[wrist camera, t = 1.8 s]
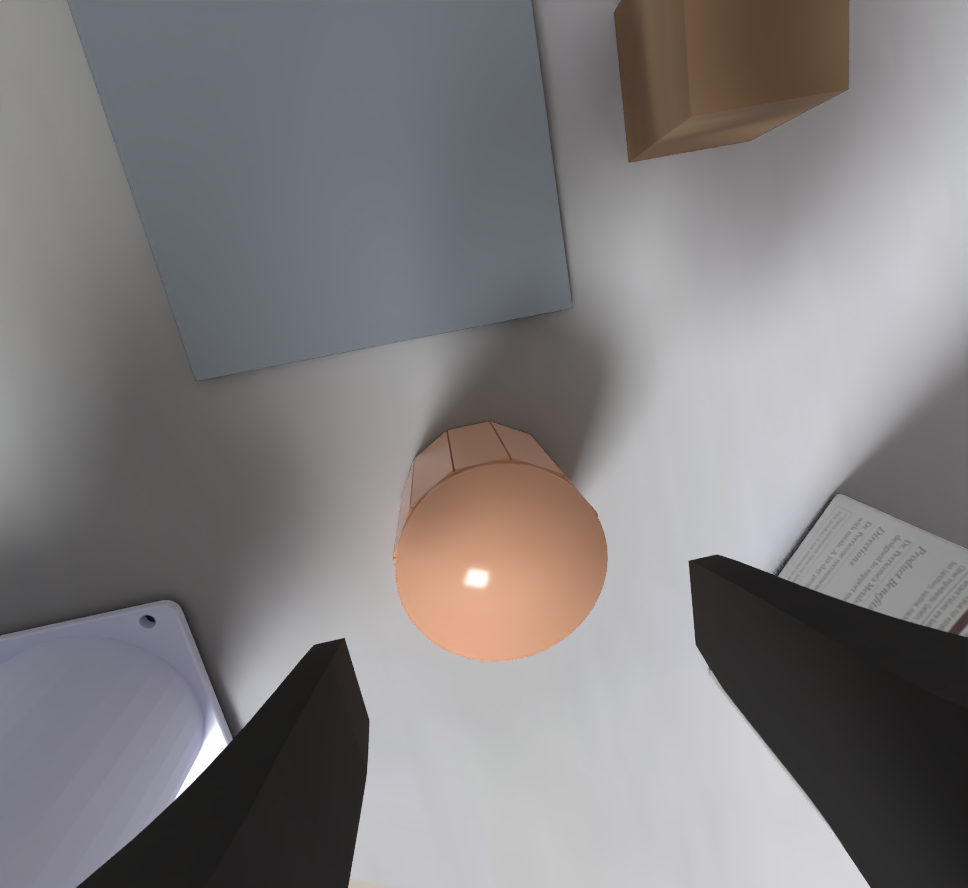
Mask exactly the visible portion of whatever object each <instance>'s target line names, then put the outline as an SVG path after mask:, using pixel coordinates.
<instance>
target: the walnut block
mask: <svg viewBox="0 0 968 888" xmlns="http://www.w3.org/2000/svg"><path fill="white" fill-rule="evenodd" d="M614 18H615V28H616V38H617V48H618V59H619V69H620V79H621V89H622V100H623V110H624V120H625V130H626V141H627V151H628V161H629V162H635V161H641V160H646V159H652V158H657V157H663V156H668V155H674V154H680V153H685V152H691V151H696V150H702V149H708V148H713V147H719V146H724V145H730V144H735V143H741V142H747V141H751V140H753V139H755V138H757V137H758V136H760V135H762V134H764V133H766V132H768V131H770V130H772V129H774V128H776V127H777V126H779V125H781V124H783V123H785V122H787V121H789V120H791V119H793V118H794V117H796V116H798V115H800V114H802V113H804V112H806V111H808V110H810V109H812V108H813V107H815V106H817V105H819V104H821V103H823V102H825V101H827V100H829V99H831V98H832V97H834V96H836V95H838V94H840V93H842V92H844V91H846V90H848V78H849V0H622V1H621V2H620V4H619V5H618V7H617V9H616V10H615V12H614Z"/></svg>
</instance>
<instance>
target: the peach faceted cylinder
mask: <svg viewBox="0 0 968 888" xmlns="http://www.w3.org/2000/svg"><path fill="white" fill-rule="evenodd" d="M607 560H608V557H607V544H606V539H605V535H604V531H603V529H602V526H601V523H600V521H599V519H598V514H597V513H596V511H595V510H594V509H593V507H592V506H591V505H590V504H589V503H588V501H587V500H586V499H585V498H584V497H583V496H582V494H581V493H580V492H579V491H578V490H577V488H576V487H575V486H574V485H573V484H572V483H571V481H570V480H569V479H568V478H567V477H566V475H565V474H564V473H563V472H562V471H561V469H560V468H559V467H558V466H557V465H556V464H555V462H554V461H553V460H552V459H551V458H550V457H549V455H548V454H547V453H546V452H545V451H544V450H543V448H542V447H541V446H540V445H539V444H538V443H537V442H536V440H535V439H534V438H533V437H532V436H531V435H530V434H528V433H525V432H522V431H518V430H515V429H512V428H509V427H506V426H503V425H500V424H497V423H494V422H489V421H488V422H484V423H479V424H474V425H469V426H464V427H459V428H454V429H450V430H448V432H447V431H445V432H444V433H443V434H442V435H441V436H440V437H438V438H437V439H436V440H435V441H434V442H433V443H431V444H430V445H429V446H428V447H427V448H426V449H425V450H423V451H422V452H421V453H420V454H419V455H418V456H417V457H415V460H413V463H412V466H411V470H410V473H409V476H408V479H407V482H406V485H405V488H404V491H403V494H402V497H401V503H400V510H399V517H398V525H397V532H396V539H395V546H394V553H393V561H394V565H395V572H396V584H397V589H398V594H399V597H400V600H401V603H402V605H403V607H404V609H405V611H406V613H407V615H408V616H409V618H410V619H411V621H412V622H413V624H414V625H415V626H416V627H417V628H418V629H419V630H420V632H421V633H422V634H423V635H424V636H426V637H427V638H428V639H429V640H431V641H432V642H433V643H435V644H436V645H438V646H440V647H441V648H443V649H445V650H447V651H449V652H451V653H454V654H456V655H459V656H462V657H466V658H469V659H475V660H480V661H509V660H515V659H520V658H524V657H527V656H531V655H534V654H537V653H539V652H541V651H544V650H546V649H548V648H550V647H551V646H553V645H555V644H557V643H558V642H560V641H561V640H563V639H564V638H565V637H567V636H568V635H569V634H570V633H572V632H573V631H574V630H575V629H576V628H577V627H578V626H579V625H580V624H581V623H582V622H583V620H584V619H585V618H586V617H587V616H588V614H589V613H590V611H591V610H592V608H593V607H594V605H595V603H596V601H597V599H598V597H599V595H600V593H601V590H602V587H603V584H604V580H605V576H606V571H607Z"/></svg>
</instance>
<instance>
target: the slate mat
mask: <svg viewBox="0 0 968 888" xmlns="http://www.w3.org/2000/svg"><path fill="white" fill-rule="evenodd" d="M67 2H68V5H69V8H70V11H71V14H72V17H73V20H74V22H75V25H76V28H77V31H78V34H79V37H80V40H81V43H82V46H83V49H84V52H85V55H86V58H87V61H88V64H89V67H90V70H91V73H92V76H93V79H94V82H95V85H96V88H97V91H98V93H99V96H100V99H101V102H102V105H103V108H104V111H105V114H106V117H107V120H108V123H109V126H110V129H111V132H112V135H113V138H114V141H115V144H116V147H117V150H118V153H119V156H120V159H121V162H122V164H123V167H124V170H125V173H126V176H127V179H128V182H129V185H130V188H131V191H132V194H133V197H134V200H135V203H136V206H137V209H138V212H139V215H140V218H141V221H142V224H143V227H144V230H145V233H146V235H147V238H148V241H149V244H150V247H151V250H152V253H153V256H154V259H155V262H156V265H157V268H158V271H159V274H160V277H161V280H162V283H163V286H164V289H165V292H166V295H167V298H168V301H169V304H170V307H171V309H172V312H173V315H174V318H175V321H176V324H177V327H178V330H179V333H180V336H181V339H182V342H183V345H184V348H185V351H186V354H187V357H188V360H189V363H190V366H191V369H192V372H193V375H194V378H195V380H196V381H200V380H205V379H210V378H215V377H220V376H226V375H231V374H236V373H241V372H246V371H251V370H256V369H262V368H267V367H272V366H277V365H282V364H287V363H292V362H298V361H303V360H308V359H313V358H318V357H323V356H328V355H334V354H339V353H344V352H349V351H354V350H359V349H364V348H370V347H375V346H380V345H385V344H390V343H395V342H400V341H406V340H411V339H416V338H421V337H426V336H431V335H436V334H442V333H447V332H452V331H457V330H462V329H467V328H472V327H478V326H483V325H488V324H493V323H498V322H503V321H508V320H514V319H519V318H524V317H529V316H534V315H539V314H544V313H550V312H555V311H560V310H565V309H570V308H572V301H571V294H570V286H569V279H568V271H567V264H566V256H565V249H564V241H563V234H562V226H561V219H560V211H559V204H558V196H557V189H556V181H555V174H554V166H553V159H552V151H551V144H550V136H549V129H548V121H547V114H546V106H545V99H544V91H543V84H542V76H541V69H540V61H539V54H538V46H537V39H536V31H535V24H534V16H533V9H532V1H531V0H67Z"/></svg>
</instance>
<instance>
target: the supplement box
mask: <svg viewBox="0 0 968 888" xmlns="http://www.w3.org/2000/svg"><path fill="white" fill-rule="evenodd" d="M778 577H780V578H783V579H786V580H788V581H791V582H794V583H796V584H799V585H801V586H804V587H807V588H809V589H812V590H815V591H818V592H820V593H823V594H826V595H829V596H831V597H834V598H837V599H840V600H843V601H846V602H849V603H852V604H855V605H858V606H861V607H864V608H867V609H870V610H873V611H876V612H879V613H882V614H885V615H888V616H892V617H895V618H898V619H902V620H905V621H909V622H912V623H915V624H919V625H923V626H927V627H931V628H934V629H938V630H942V631H946V632H949V633H953V634H957V635H961V636H964V637H968V549H967V548H964V547H962V546H960V545H957V544H955V543H953V542H950V541H948V540H946V539H943V538H941V537H939V536H936V535H934V534H932V533H930V532H927V531H925V530H923V529H920V528H918V527H916V526H913V525H911V524H909V523H907V522H904V521H902V520H900V519H897V518H895V517H893V516H891V515H889V514H886V513H884V512H882V511H879V510H877V509H875V508H872V507H870V506H868V505H865V504H863V503H861V502H859V501H856V500H854V499H852V498H850V497H848V496H845V495H842V494H837V495H836V496H835V497H834V499H833V500H832V501H831V503H830V504H829V506H828V507H827V508H826V510H825V511H824V513H823V514H822V515H821V517H820V518H819V520H818V521H817V522H816V524H815V525H814V527H813V528H812V529H811V531H810V532H809V534H808V535H807V536H806V538H805V539H804V540H803V542H802V543H801V545H800V546H799V547H798V549H797V550H796V552H795V553H794V554H793V556H792V557H791V559H790V560H789V561H788V563H787V564H786V566H785V567H784V568H783V570H782V571H781V573H780V574H779V575H778ZM709 677H710V678H711V679H712V681H713V682H714V683H715V685H716V686H717V687H718V688H719V690H720V691H721V692H722V694H723V695H724V696H725V697H726V699H727V700H728V701H729V702H730V704H731V705H732V706H733V708H734V709H735V710H736V711H737V713H738V714H739V715H740V716H741V718H742V719H743V720H744V721H745V723H746V724H747V725H748V727H749V728H750V729H751V730H752V732H753V733H754V734H755V735H756V737H757V738H758V739H759V741H760V742H761V743H762V744H763V746H764V747H765V748H766V749H767V751H768V752H769V753H770V754H771V756H772V757H773V758H774V760H775V761H776V762H777V763H778V765H779V766H780V767H781V768H782V770H783V771H784V772H785V773H786V775H787V776H788V777H789V779H790V780H791V781H792V782H793V784H794V785H795V786H796V787H797V789H798V790H799V791H800V792H801V794H802V795H803V796H804V798H805V799H806V800H807V801H808V803H809V804H810V805H811V807H812V808H813V809H814V810H815V812H816V813H817V814H818V815H819V817H820V818H821V819H822V820H823V822H824V823H825V824H826V826H827V827H828V828H829V829H830V831H831V832H832V833H833V834H834V836H835V837H836V838H837V836H836V835H835V833H834V832H833V830H832V829H831V827H830V826H829V824H828V823H827V821H826V820H825V819H824V817H823V816H822V815H821V813H820V812H819V810H818V809H817V808H816V806H815V805H814V804H813V802H812V801H811V800H810V798H809V797H808V796H807V794H806V793H805V792H804V790H803V789H802V788H801V787H800V785H799V784H798V783H797V782H796V780H795V779H794V778H793V777H792V775H791V774H790V773H789V772H788V770H787V769H786V768H785V767H784V765H783V764H782V763H781V762H780V760H779V759H778V758H777V757H776V755H775V754H774V753H773V752H772V750H771V749H770V748H769V747H768V745H767V744H766V743H765V742H764V740H763V739H762V738H761V737H760V735H759V734H758V733H757V732H756V730H755V729H754V728H753V727H752V725H751V724H750V723H749V722H748V720H747V719H746V718H745V717H744V715H743V714H742V713H741V711H740V710H739V709H738V708H737V706H736V705H735V704H734V703H733V701H732V700H731V699H730V697H729V696H728V695H727V693H726V692H725V691H724V690H723V688H722V687H721V685H720V683H719V682H718V680H717V679H716V677H715V676H714V674H713V672H712V671H711V670H710V671H709ZM837 839H838V838H837ZM838 841H839V839H838ZM839 842H840V841H839ZM840 843H841V842H840ZM841 845H842V844H841ZM842 846H843V845H842Z"/></svg>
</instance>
